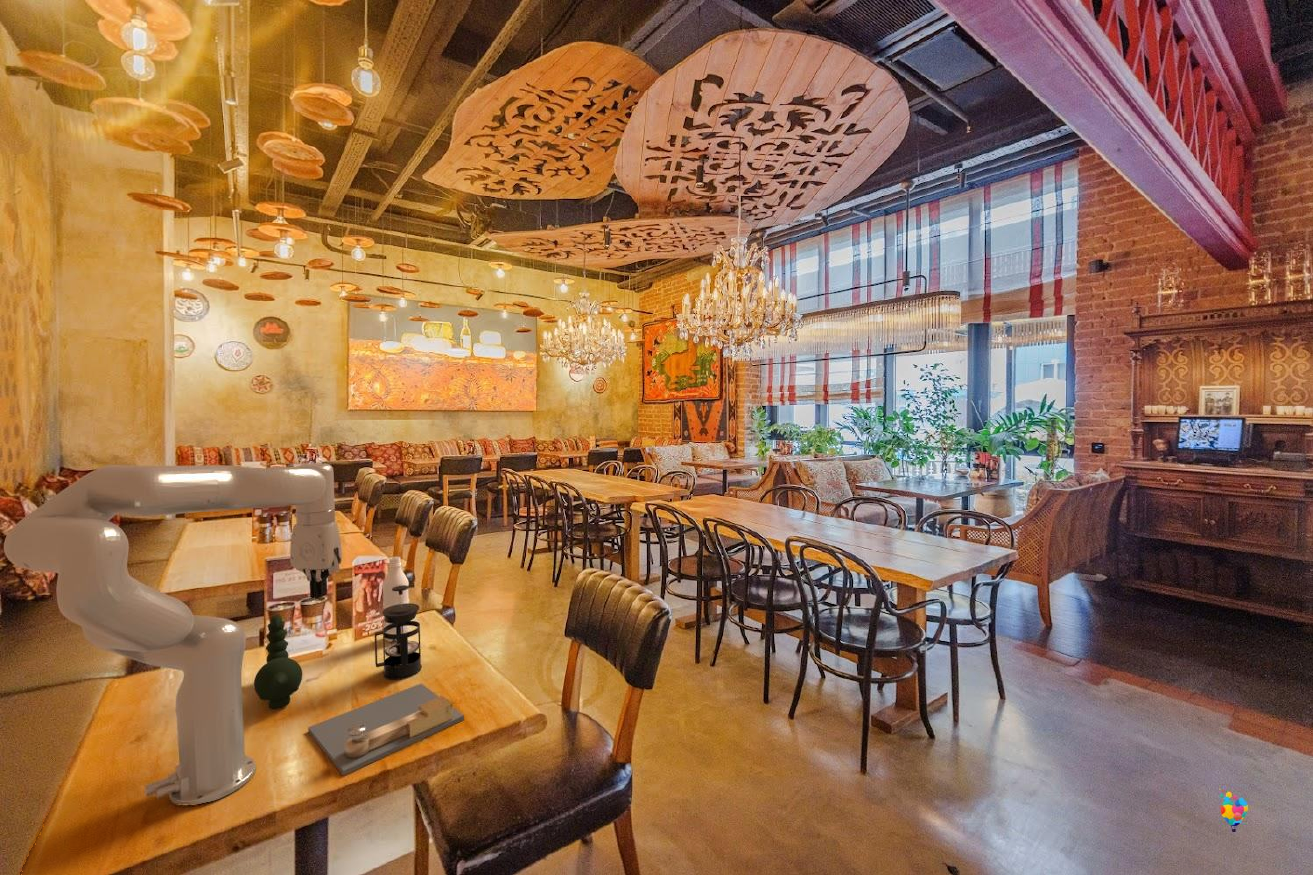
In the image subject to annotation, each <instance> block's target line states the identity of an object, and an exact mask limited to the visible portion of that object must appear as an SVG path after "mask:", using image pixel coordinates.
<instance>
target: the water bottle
mask: <svg viewBox="0 0 1313 875" xmlns="http://www.w3.org/2000/svg"><path fill="white" fill-rule="evenodd" d="M388 567H389V569H388V571H387V572H388V573H387V574H386V576H385V578H384V580H383V582H382V598H383V599H382V600H383V602H382V609H383V610H384V609H386V608H388V607H390V606H394V605H398V604H400V595H399V591H392V588H394V587H396V586H401V585H406V586H409V585H410V582H409V579H408V578H407V576H406V574H405V573H404V571H403V569H402V561H401V556H392V557H389V564H388ZM401 597H402V604H405V603H410V597H409V588H408V589H407V590H404V591H403V594H402V595H401ZM390 624H392V623H387V622H385V621H384V626H383V629H384V628H385V627H386V626H388V625H390ZM410 631H411V626H403V633H407V632H410ZM385 633H387V634H396V627H395V628H392V629H390V630H388V631H386V632H385ZM385 640H386V641H387V642H388V643H392V642H394V640H395V641H396V639H386V638H385Z"/></svg>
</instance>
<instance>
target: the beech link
mask: <svg viewBox="0 0 1313 875" xmlns="http://www.w3.org/2000/svg"><path fill="white" fill-rule="evenodd" d="M422 715H425V714H424V713H423V712H422V711H418V712H416V713H414V714H411V715H409V716H406V717H404V718H401V719H399V720H396V721H394V722H392V723H389V724H387V725H384V726H382V727H379V728H377V729H375V730H372V731H370V732H367V733H365V734H363V740H362V741H360V742H357V743H353V742H352V737H351V738H349V739H348V740H347V741H346V742H345V755H346V757H348V758H357V757H360V756H363V755H365V754H366V753H367V752H368V751H369V750H372V749H374V748H376V747H379V746H381V745H383V744H386V743H388V742H390V741H393V740H395V739H397V738H399V737H402V736H404V735H406V734H407V722H408V721H411V720H413V719H415V718H418V717H420V716H422Z"/></svg>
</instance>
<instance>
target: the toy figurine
mask: <svg viewBox="0 0 1313 875" xmlns="http://www.w3.org/2000/svg"><path fill="white" fill-rule="evenodd" d="M285 624H286V622H285V621H283V617H282V616H281V615H280V614H273V615H272V616H271V617H270V619H269V623H268V624H267V630H268V631H269V632H268V633H267V634H266V635H265V637H266V639H267V641H268V642H269V643H268V644H267V645H266V646H265V650H266V651H267V653H268V654H267V656H266V663H265V664H264V665H263V666H262V667H260V668H259V670H258V671H257V673H256V674H255V676H254V680H253V688H254V692H255V693H256V696H258V698H259V700H261V701H267V702H268V703H267V706H268V708H269V709H271V710H280V709H283V708H285V707H287V706H288V705H289V704H290V703H291V695H293V694H294V693H295V692H298V690H299V689H300V688H299V687H300V685H301V683H302V680H303V670H302V667H301V665H300V664H299V662H298V661H296V660H295V659H294V658H293V659H292V658H289V652H288V651H287V648H288V646H289V642H288V641H286V640H285V639H286V636H287V634H288V631H287V630H286V629H284V628H285Z"/></svg>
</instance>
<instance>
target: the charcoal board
mask: <svg viewBox="0 0 1313 875" xmlns="http://www.w3.org/2000/svg"><path fill="white" fill-rule="evenodd" d="M438 697H440V696H439V695H438V694H436V693H435V692H434V691H432V690H431V689H429V688H428V687H427V686H426V685H424V684H423V683H418V684H416V685H414V686H410V687H409V688H406V689H403V690H400V691H397V692H395V693H393V694H390V695H388V696H385V697H383V698H380V699H378V700H375V701H372V702H370V703H367V704H364V705H362V706H360V707H357V708H355V709H352V710H349V711H347V712H344V713H341V714H339V715H336V716H334V717H331V718H329V719H326V720H324V721H321V722H319V723H317V724H316V723H315V724H313V725H311V726H308V727H307V729H308V733H309V734H310V735H311V737H312V738H313V740H314V741H315V742H316V743H317V744H318V745H319V747H320V748H321V750H323V752H324V753H325V754H326V756H327V757H328V759H329V760H330V761H331V762H332V763H333V764H334V766H335V767H336V768H337V769H338V771H339V772H340V773H341V775H342V776H343V777H344V776H346V775H348V774H350V773H353V772H355V771H357V770H359V769H361V768H363V767H366V766H368V765H370V764H372V763H375V762H377V761H379V760H381V759H382V758H385V757H387V756H390V755H391V754H393V753H396V752H398V751H400V750H402V749H405V748H406V747H409V746H411V745H413V744H414V743H417V742H419V741H422V740H423V739H426V738H428V737H429V736H432V735H434V734H436V733H439V732H440V731H443V730H445V729H447V728H449V727H452V726H454V725H456V724H457V723H460V722H462V721H464V720H465V715H464V714H463V713H461V712H460V711H459V710H457V709H456V707H453V706H452V720H450V721H448V722H446V723H443V724H441V725H439V726H437V727H435V728H432V729H430V730H428V731H426V732H424V733H422V734H419V735H417V736H415V737H413V738H411V739H410V738H409V737H408V736H407V734H406V735H404V736H402V737H399V738H397V739H395V740H393V741H390V742H388V743H386V744H383V745H381V746H379V747H376V748H374V749H372V750H369V751H368V752H367V753H366V754H365V755H363V756H360V757H357V758H348V757H346V755H345V742H346V741H347V740H348V739H349V738H351V737H352V736H350V735H348V730H349V728H351V727H352V726H355V725H358V724H364V725H366V731H365V732H364V733H363V734H365V733H367V732H370V731H372V730H375V729H377V728H379V727H382V726H384V725H387V724H389V723H392V722H394V721H396V720H399V719H401V718H404V717H406V716H409V715H411V714H414V713H416V712H418V711H420V710H419V705H421V704H424V703H426V702H428V701H431V700H433V699H436V698H438Z"/></svg>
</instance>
